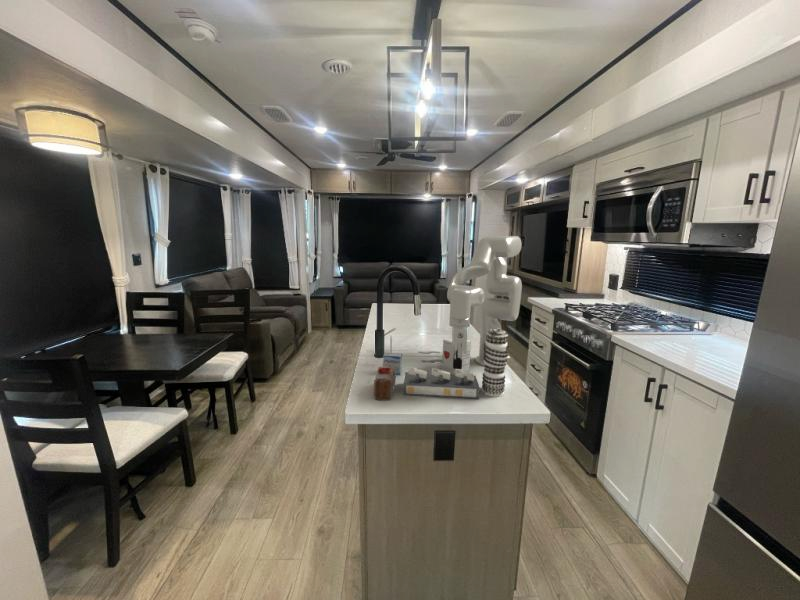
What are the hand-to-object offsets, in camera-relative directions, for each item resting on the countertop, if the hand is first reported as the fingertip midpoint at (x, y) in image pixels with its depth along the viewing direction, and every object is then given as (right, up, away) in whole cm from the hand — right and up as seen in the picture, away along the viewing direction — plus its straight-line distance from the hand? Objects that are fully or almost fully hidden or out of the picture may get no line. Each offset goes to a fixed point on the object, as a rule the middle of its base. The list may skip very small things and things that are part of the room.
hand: (457, 368), depth 122 cm
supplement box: (+3, -6, +21) cm, 23 cm away
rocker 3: (+3, -3, 0) cm, 4 cm away
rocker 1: (-15, -2, +2) cm, 15 cm away
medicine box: (-25, -6, +19) cm, 32 cm away
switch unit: (-6, -10, +2) cm, 12 cm away
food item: (-28, -10, +1) cm, 29 cm away
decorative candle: (+14, -10, +3) cm, 18 cm away
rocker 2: (-6, -2, +1) cm, 7 cm away
